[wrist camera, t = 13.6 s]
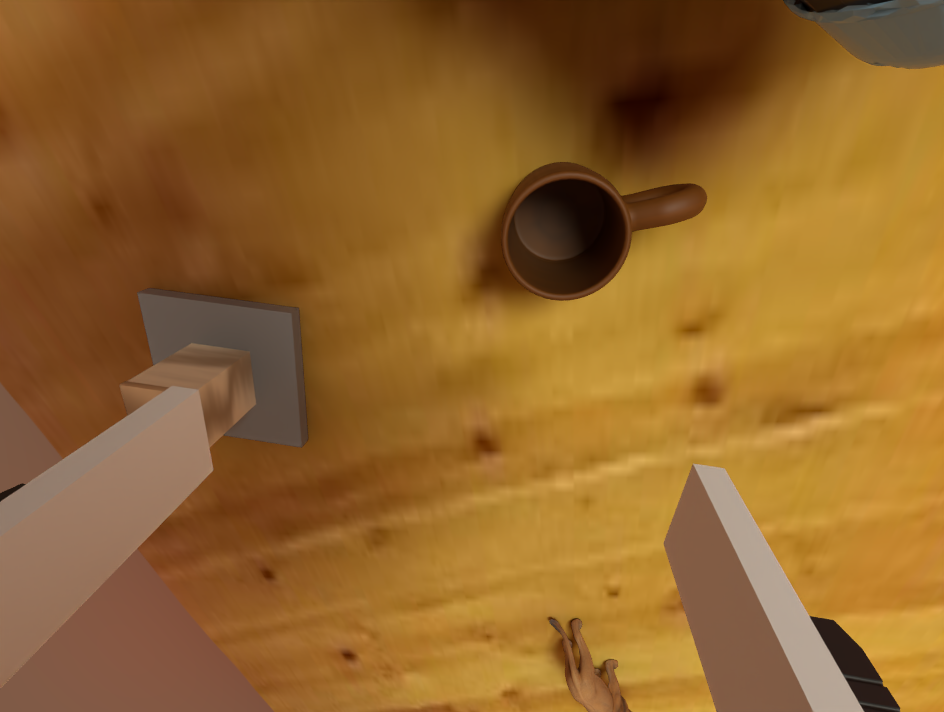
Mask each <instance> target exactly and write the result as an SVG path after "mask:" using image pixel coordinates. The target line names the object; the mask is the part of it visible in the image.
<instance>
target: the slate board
mask: <svg viewBox="0 0 944 712" xmlns="http://www.w3.org/2000/svg"><path fill="white" fill-rule="evenodd" d="M137 294H138V299H139V303H140V307H141V312H142V316H143V321H144V325H145V330H146V334H147V338H148V343H149V347H150V352H151V356H152V361H153V365H155V364H157V363H159V362H161V361H162V360H164V359H166V358H167V357H169V356H171V355H172V354H174V353H176V352H178V351H179V350H181V349H183V348H184V347H186V346H188V345H189V344H191V343H194V344H201V345H208V346H215V347H222V348H229V349H236V350H243V351H250V358H251V366H252V374H253V382H254V390H255V398H256V405H255V406H254V407H252V408H251V409H250V410H249V411H248V412H247V413H246V414H245V415H244V416H243V417H242V418H241V419H240V420H239V421H238V422H237V423H235V424H234V425H233V426H232V427H231V428H230V429H229V430H228V431H227V432H226V433H225V434H224V435H225V436H231V437H238V438H244V439H250V440H257V441H263V442H270V443H276V444H282V445H289V446H295V447H301V448H302V447H303V446H304V444H305V443H306V442H307V440H308V429H307V414H306V400H305V386H304V372H303V358H302V344H301V330H300V316H299V308H295V307H288V306H280V305H273V304H265V303H258V302H250V301H243V300H235V299H228V298H220V297H213V296H205V295H198V294H191V293H183V292H176V291H168V290H161V289H153V288H148V289H145V290H142V291H140V292H137Z"/></svg>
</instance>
